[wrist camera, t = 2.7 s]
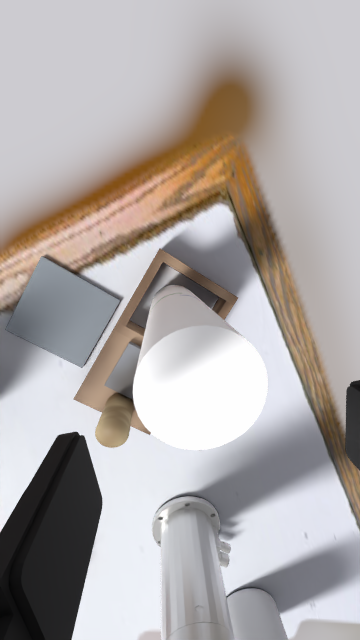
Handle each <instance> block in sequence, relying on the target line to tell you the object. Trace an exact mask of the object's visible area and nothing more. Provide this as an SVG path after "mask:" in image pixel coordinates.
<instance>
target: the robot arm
mask: <svg viewBox="0 0 360 640" xmlns="http://www.w3.org/2000/svg"><path fill="white" fill-rule="evenodd" d="M346 399H347V400H346V443H345V449H346V454H347V456H348V458H349V459H350V460H351V462H352V463H353V464H354V465H355V466H356V467H357V468H358V469H359V470H360V380H359V381H353V382H351V384H350V387H348V388H347V395H346ZM101 510H102V495H101V492H100V488H99V485H98V481H97V478H96V475H95V471H94V468H93V464H92V461H91V457H90V454H89V450H88V447H87V444H86V440H85V437H84V436H83V435H81V436H80V435H79V433H78V432H72V433H66V434H61V435H58V437H57V438H56V440H55V441H54V443H53V445H52V446H51V448H50V450H49V452H48V453H47V455H46V457H45V458H44V460H43V462H42V464H41V465H40V467H39V469H38V470H37V472H36V474H35V476H34V477H33V479H32V481H31V482H30V484H29V486H28V488H27V489H26V490H25V492H24V493H23V495H22V497H21V498H20V500H19V502H18V503H17V505H16V507H15V509H14V510H13V512H12V514H11V515H10V517H9V519H8V520H7V522H6V524H5V526H4V527H3V529H2V531H1V532H0V640H71V639H72V635H73V630H74V626H75V622H76V617H77V613H78V609H79V605H80V600H81V596H82V592H83V587H84V583H85V579H86V575H87V570H88V566H89V562H90V558H91V553H92V549H93V545H94V540H95V536H96V532H97V528H98V523H99V519H100V515H101ZM219 529H220V520H219V516H218V512H217V511H216V509H215V507H214V506H213V505H212V504H211V503H209V502H208V501H206V500H204V499H202V498H198V497H192V496H186V497H180V498H176V499H173V500H171V501H169V502H167V503H166V504H164V505H163V506H162V507H161V508H160V509H159V510H158V511H157V513H156V514H155V517H154V519H153V523H152V533H153V537H154V540H155V542H156V543H157V545H159V546H160V547H161V640H235V638H234V633H233V628H232V623H231V618H230V613H229V608H228V603H227V598H226V593H225V588H224V583H223V578H222V573H221V568H220V565H221V566H223V567H227V566H228V564H229V555H228V554H227V553H230V549H231V547H230V544H228V543H225V542H222V541H220V539H219V536H218V532H219ZM220 550H221V551H220ZM222 551H223V552H222ZM224 552H225V553H224Z"/></svg>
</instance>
